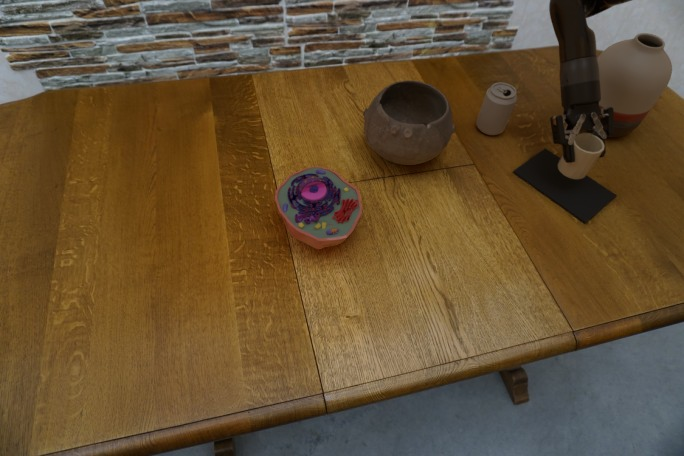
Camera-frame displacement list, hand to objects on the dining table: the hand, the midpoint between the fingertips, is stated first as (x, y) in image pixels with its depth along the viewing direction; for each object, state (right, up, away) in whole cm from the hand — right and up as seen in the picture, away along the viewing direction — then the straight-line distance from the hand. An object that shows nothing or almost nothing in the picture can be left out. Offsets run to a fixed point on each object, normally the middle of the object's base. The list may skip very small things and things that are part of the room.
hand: (585, 159), depth 101 cm
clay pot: (-38, +4, +14) cm, 41 cm away
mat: (-1, -5, +9) cm, 10 cm away
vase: (+16, +13, +23) cm, 31 cm away
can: (-15, +11, +20) cm, 27 cm away
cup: (-1, -1, +4) cm, 5 cm away
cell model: (-58, -15, -1) cm, 60 cm away
